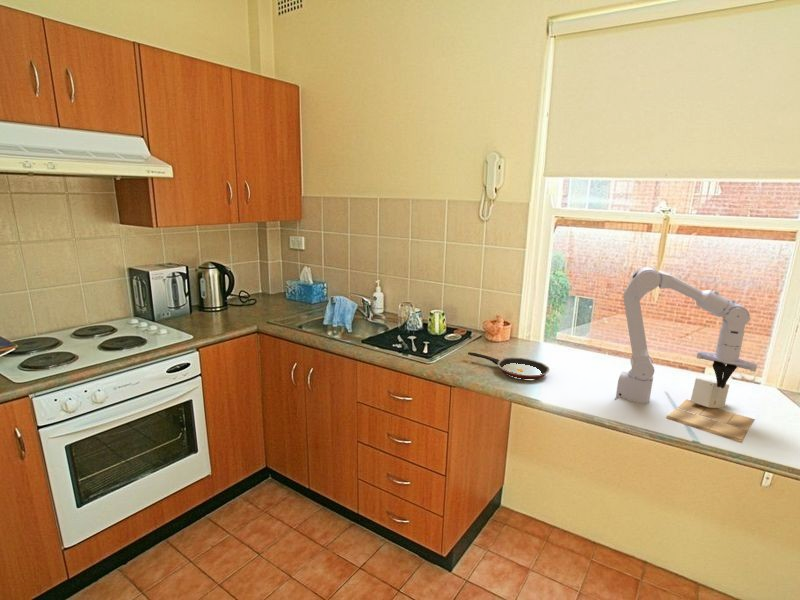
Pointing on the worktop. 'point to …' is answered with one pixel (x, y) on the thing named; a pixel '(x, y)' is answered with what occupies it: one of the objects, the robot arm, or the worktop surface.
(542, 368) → the frying pan
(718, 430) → the plank
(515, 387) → the worktop surface
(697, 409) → the laid board
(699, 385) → the small box
